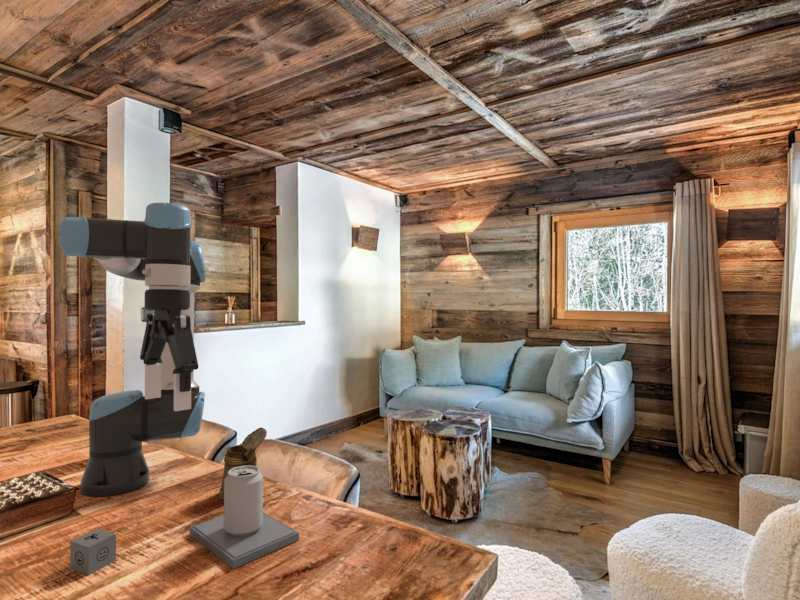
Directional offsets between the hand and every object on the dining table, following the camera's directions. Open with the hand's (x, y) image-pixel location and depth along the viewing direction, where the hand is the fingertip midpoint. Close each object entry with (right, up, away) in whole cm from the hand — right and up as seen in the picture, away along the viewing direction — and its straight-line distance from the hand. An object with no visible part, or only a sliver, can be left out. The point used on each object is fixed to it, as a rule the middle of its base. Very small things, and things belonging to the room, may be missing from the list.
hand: (166, 403), depth 87 cm
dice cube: (-12, -29, -2) cm, 31 cm away
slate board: (+11, -29, +8) cm, 32 cm away
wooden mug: (+5, -29, +28) cm, 40 cm away
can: (+11, -27, +8) cm, 31 cm away
